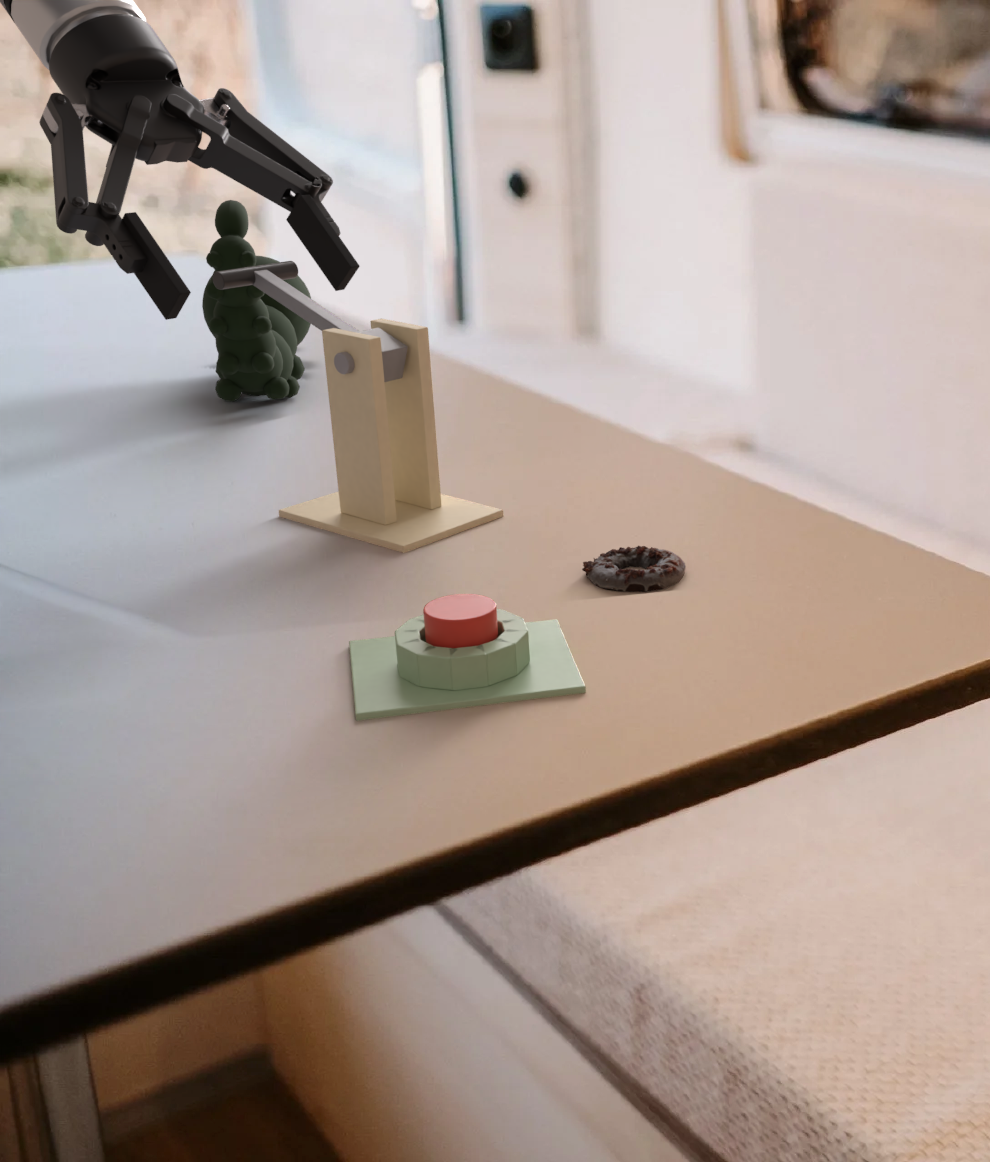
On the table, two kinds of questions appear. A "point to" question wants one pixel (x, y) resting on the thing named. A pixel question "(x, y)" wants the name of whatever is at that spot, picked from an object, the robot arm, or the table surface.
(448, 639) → the button
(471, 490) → the table surface
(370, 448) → the bracket
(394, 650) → the button block
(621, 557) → the donut
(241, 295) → the toy figurine
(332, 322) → the lever
